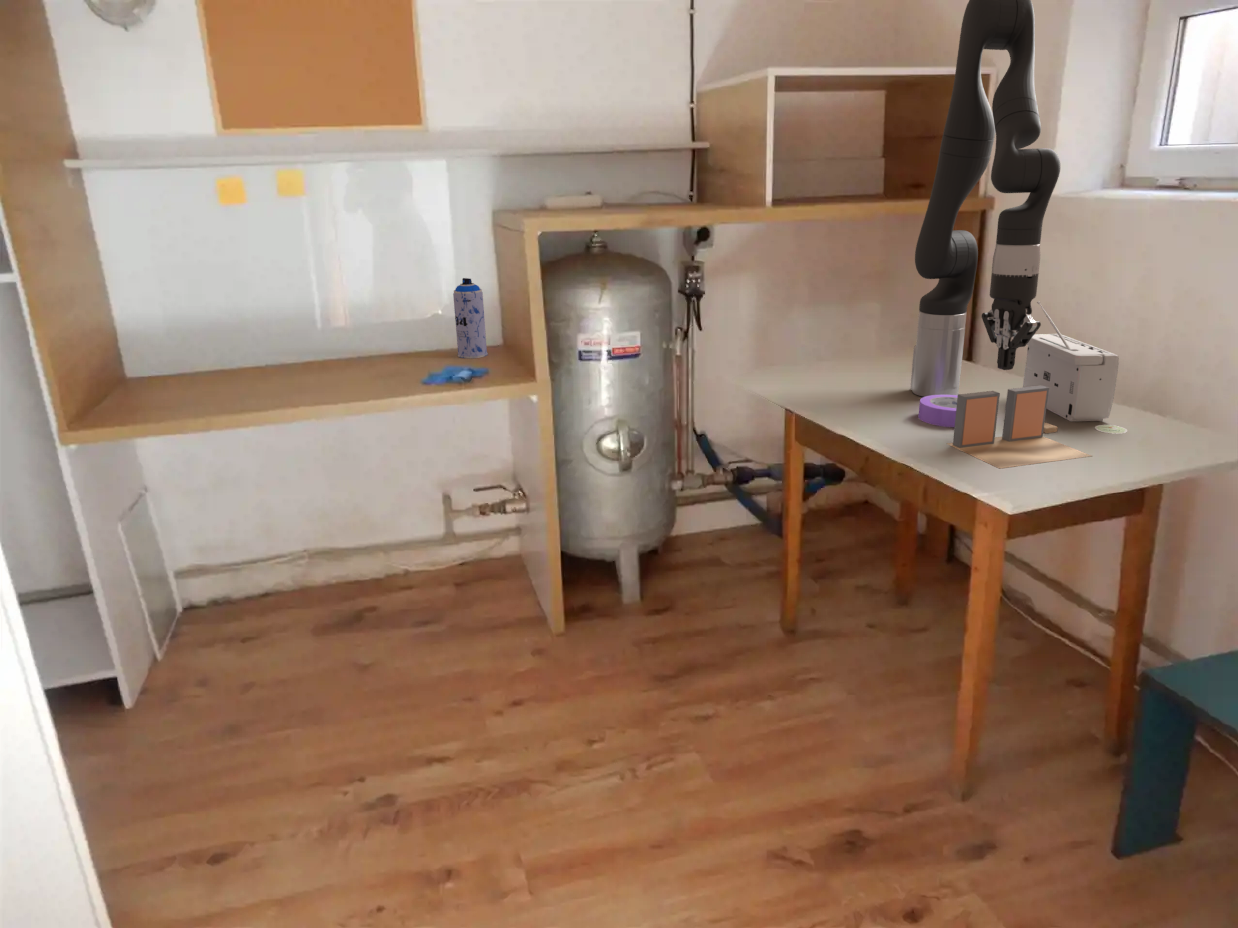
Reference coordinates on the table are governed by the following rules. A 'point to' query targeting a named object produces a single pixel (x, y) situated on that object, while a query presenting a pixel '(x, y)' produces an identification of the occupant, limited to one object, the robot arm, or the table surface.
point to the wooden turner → (1049, 428)
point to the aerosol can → (470, 320)
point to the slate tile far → (1025, 413)
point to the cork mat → (1022, 452)
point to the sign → (1111, 429)
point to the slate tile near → (976, 419)
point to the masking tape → (938, 410)
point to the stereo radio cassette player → (1072, 375)
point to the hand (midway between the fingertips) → (1005, 369)
